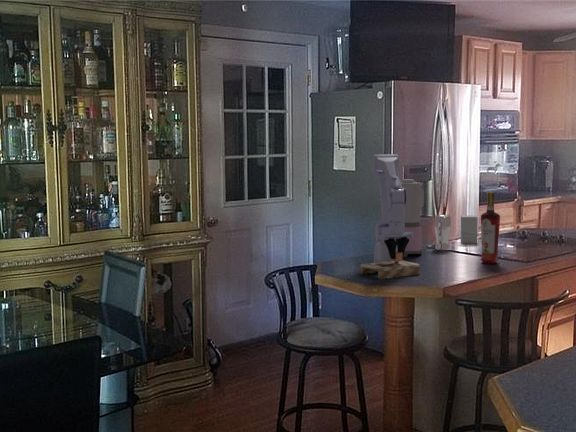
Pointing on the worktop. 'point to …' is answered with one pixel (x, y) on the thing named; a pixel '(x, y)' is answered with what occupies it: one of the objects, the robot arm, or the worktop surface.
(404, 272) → the keyhole plate
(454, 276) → the worktop surface
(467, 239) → the supplement box
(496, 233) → the liquor
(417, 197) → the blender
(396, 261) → the keyhole peg
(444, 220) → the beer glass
